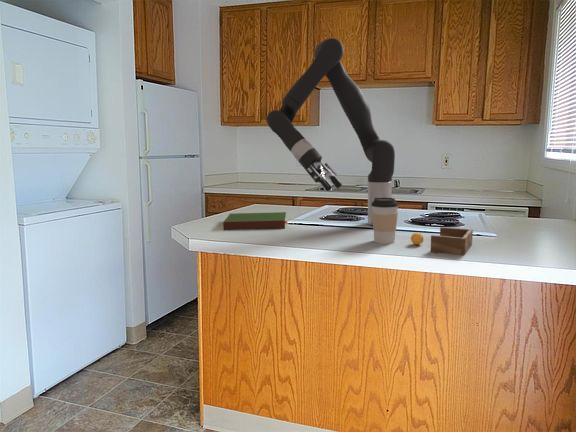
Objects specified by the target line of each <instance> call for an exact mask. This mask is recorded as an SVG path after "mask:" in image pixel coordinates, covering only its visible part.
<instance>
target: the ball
mask: <svg viewBox="0 0 576 432" xmlns="http://www.w3.org/2000/svg"><path fill="white" fill-rule="evenodd" d="M410 242H411V243H413V244H414V245H416V246H418V245H421V244H422V243H423V242H424V236H423V234H422V233H420V232H414V233H413V234H411V237H410Z"/></svg>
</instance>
